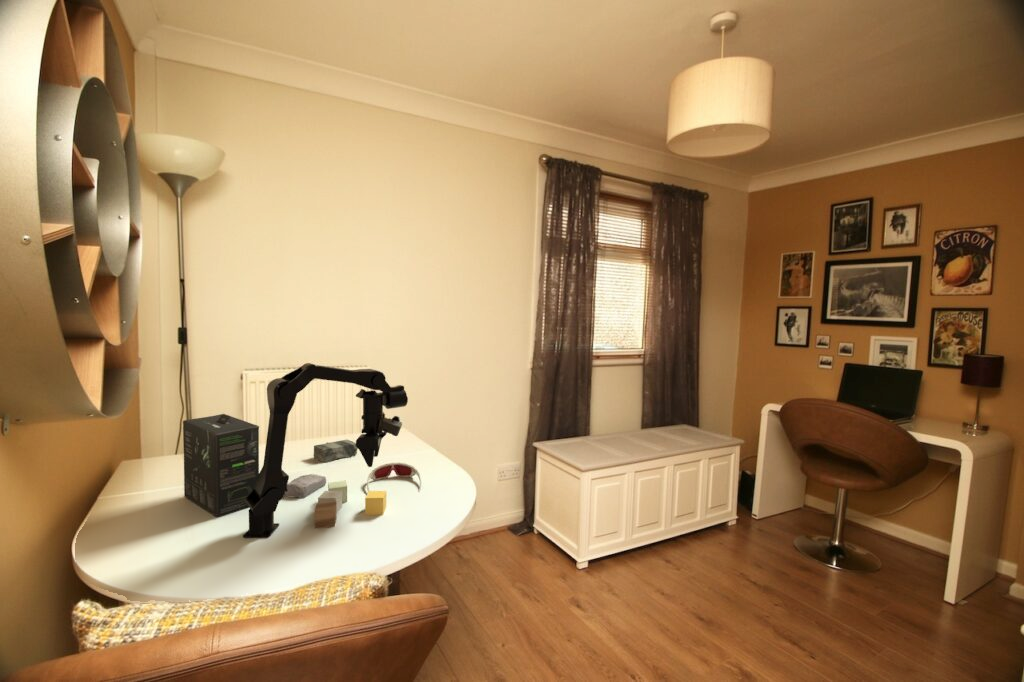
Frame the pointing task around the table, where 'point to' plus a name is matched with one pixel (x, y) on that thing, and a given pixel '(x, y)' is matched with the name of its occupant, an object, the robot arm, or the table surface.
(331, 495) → the grey cube
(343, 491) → the sage cube
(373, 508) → the mustard cube
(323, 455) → the stone block
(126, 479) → the table surface
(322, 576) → the table surface
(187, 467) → the headset box
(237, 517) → the table surface
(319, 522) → the walnut cube
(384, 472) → the sunglasses
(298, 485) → the stone block
